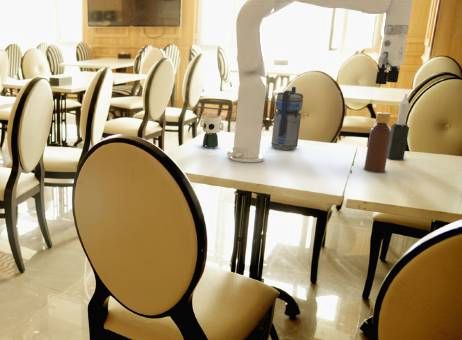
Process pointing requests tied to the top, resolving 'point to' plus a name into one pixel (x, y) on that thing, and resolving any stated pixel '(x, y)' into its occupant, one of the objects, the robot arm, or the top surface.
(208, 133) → the toy figurine
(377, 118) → the cap
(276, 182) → the top surface
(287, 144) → the beverage bottle
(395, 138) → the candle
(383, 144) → the sauce bottle
